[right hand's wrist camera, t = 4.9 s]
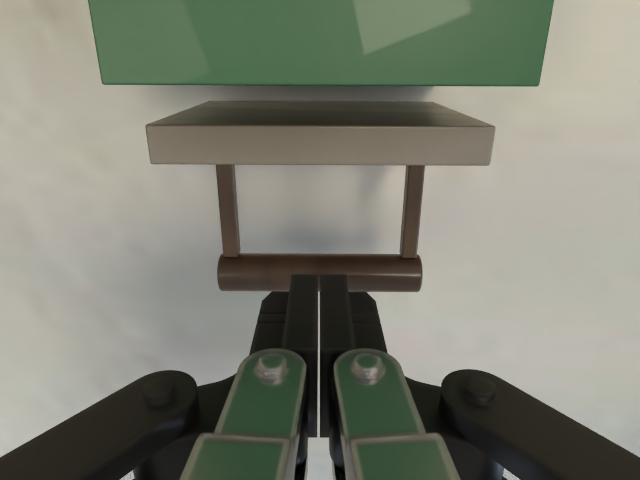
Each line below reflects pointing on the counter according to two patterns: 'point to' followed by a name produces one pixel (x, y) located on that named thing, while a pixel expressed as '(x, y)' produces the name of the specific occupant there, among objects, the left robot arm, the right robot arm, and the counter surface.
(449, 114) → the drawer
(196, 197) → the counter surface
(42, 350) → the counter surface
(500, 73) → the cabinet
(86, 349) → the counter surface
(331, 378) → the right robot arm
